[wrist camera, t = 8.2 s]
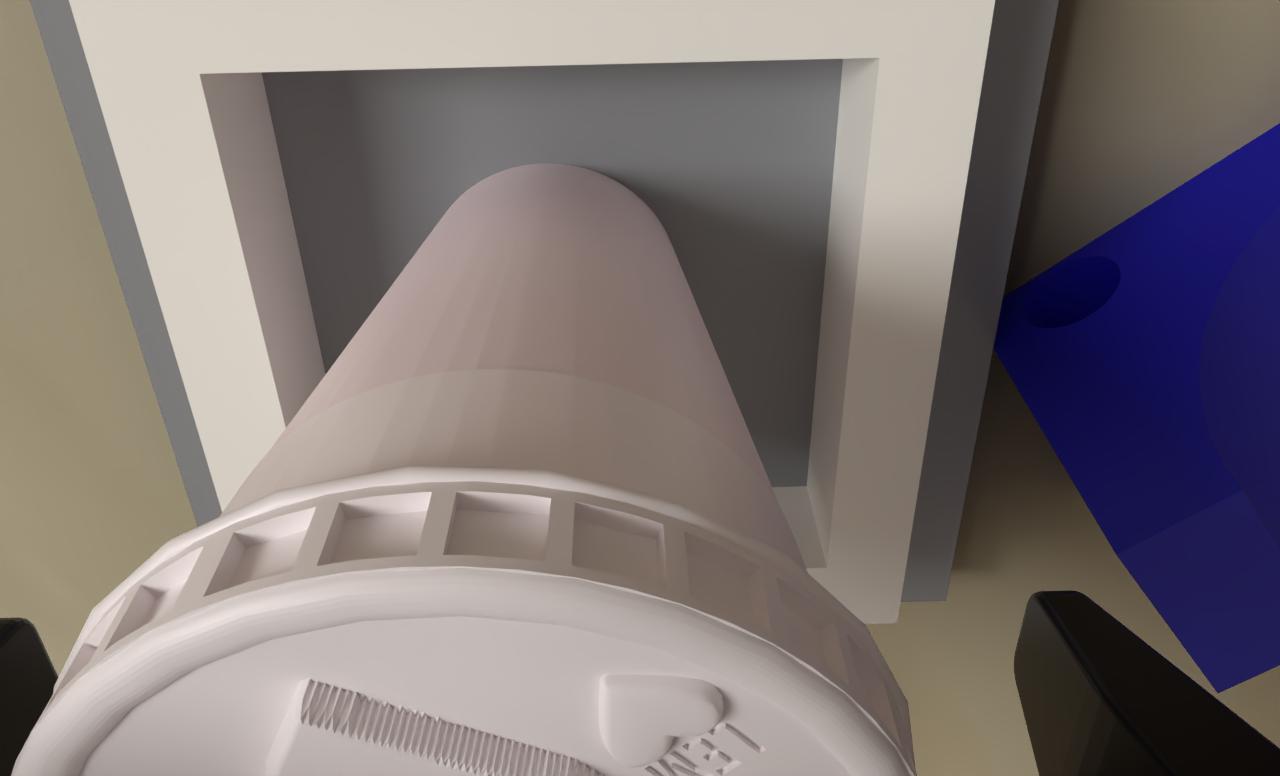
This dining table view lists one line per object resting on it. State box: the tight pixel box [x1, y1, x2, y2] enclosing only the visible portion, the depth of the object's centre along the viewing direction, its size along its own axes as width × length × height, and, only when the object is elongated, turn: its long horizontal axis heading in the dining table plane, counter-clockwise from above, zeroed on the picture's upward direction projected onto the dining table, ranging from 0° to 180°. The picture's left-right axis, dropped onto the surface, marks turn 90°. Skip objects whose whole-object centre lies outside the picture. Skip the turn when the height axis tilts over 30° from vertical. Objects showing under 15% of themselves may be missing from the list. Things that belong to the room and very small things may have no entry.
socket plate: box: [30, 0, 1059, 624], centre depth 15 cm, size 13×13×3 cm
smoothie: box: [11, 163, 917, 776], centre depth 9 cm, size 6×6×14 cm
